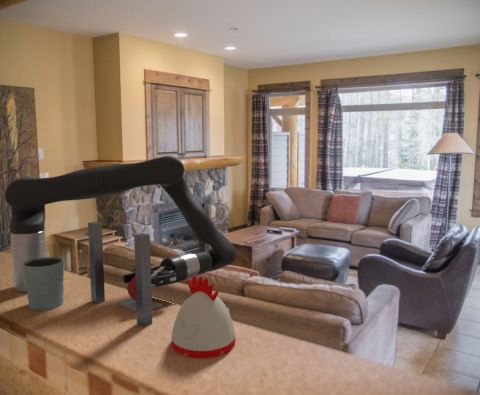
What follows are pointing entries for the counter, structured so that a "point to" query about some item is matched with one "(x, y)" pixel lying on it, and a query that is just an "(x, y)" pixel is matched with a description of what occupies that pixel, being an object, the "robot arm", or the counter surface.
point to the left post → (96, 261)
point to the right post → (143, 279)
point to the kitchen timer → (203, 323)
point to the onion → (132, 288)
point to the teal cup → (44, 282)
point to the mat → (132, 304)
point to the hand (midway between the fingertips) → (130, 281)
